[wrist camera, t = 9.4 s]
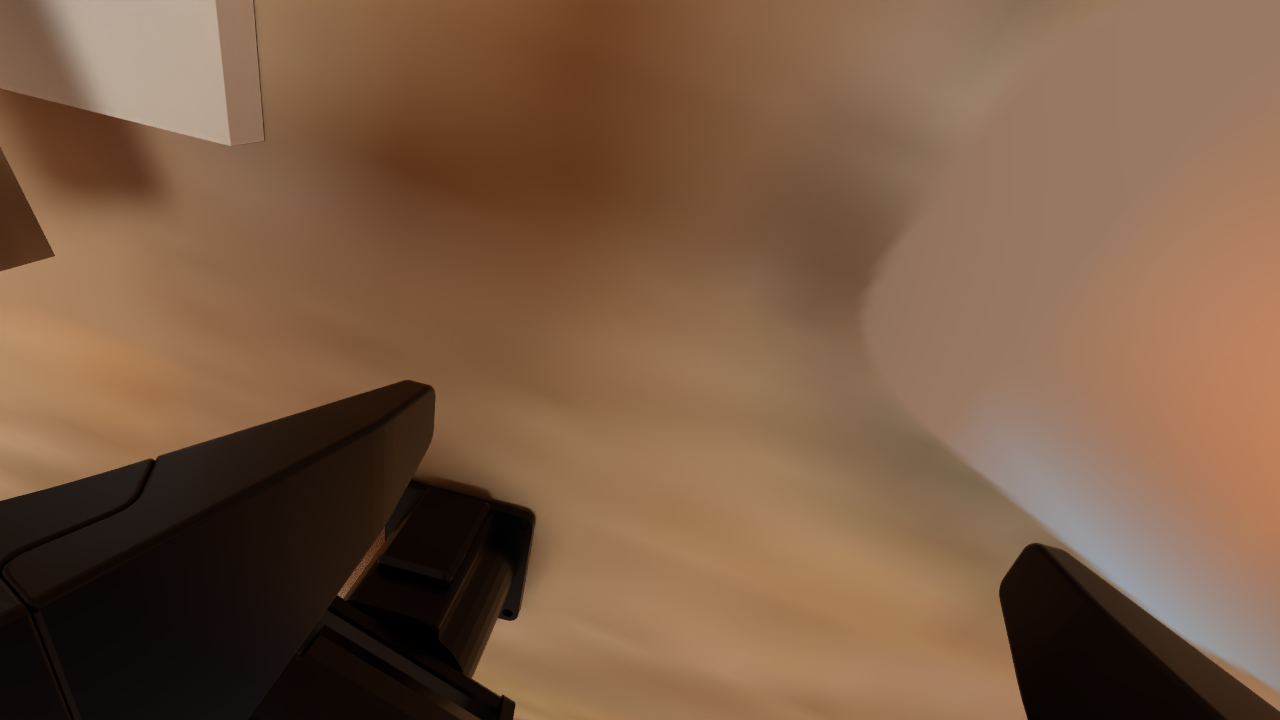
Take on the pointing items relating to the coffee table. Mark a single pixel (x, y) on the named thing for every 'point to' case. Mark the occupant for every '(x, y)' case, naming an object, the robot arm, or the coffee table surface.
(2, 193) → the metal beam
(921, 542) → the coffee table surface
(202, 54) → the fulcrum
